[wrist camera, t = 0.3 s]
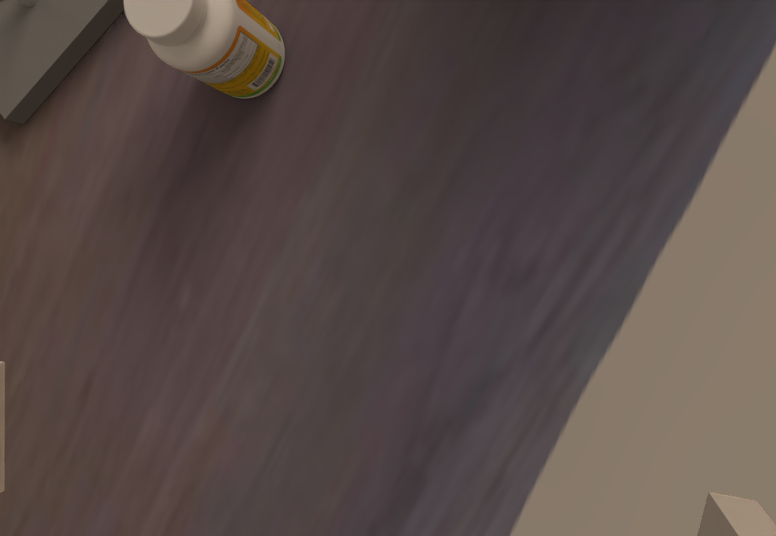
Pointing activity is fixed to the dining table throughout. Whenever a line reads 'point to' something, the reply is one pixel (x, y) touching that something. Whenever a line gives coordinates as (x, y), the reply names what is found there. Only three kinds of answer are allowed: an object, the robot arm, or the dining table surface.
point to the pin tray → (45, 47)
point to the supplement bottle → (213, 42)
